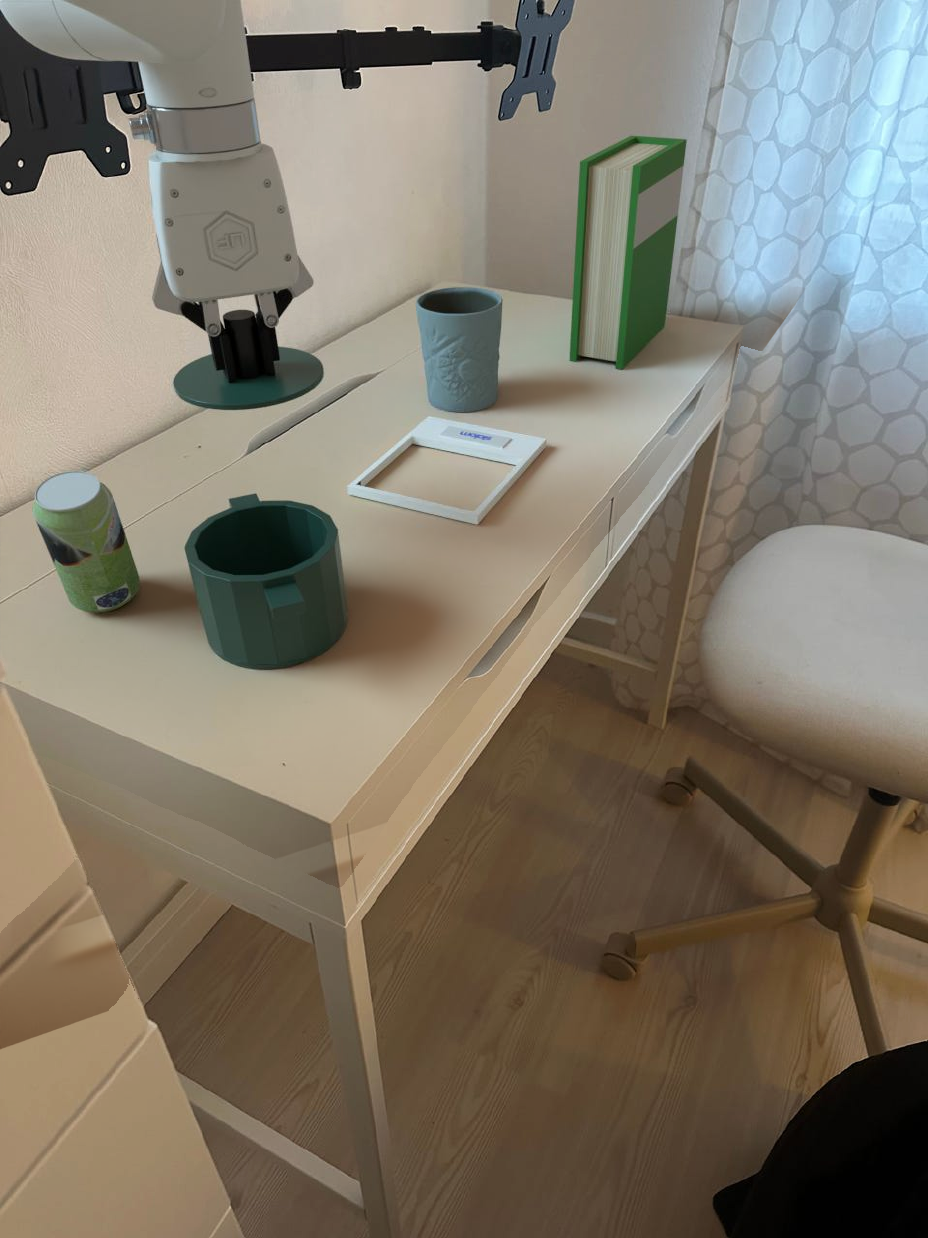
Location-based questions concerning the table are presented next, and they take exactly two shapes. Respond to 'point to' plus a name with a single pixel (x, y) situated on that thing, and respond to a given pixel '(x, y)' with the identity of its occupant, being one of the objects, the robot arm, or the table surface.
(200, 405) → the lid
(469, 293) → the embossed blue cup
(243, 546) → the pot
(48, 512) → the beverage can
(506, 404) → the table surface
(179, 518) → the table surface
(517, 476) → the photo frame
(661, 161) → the hardback book
